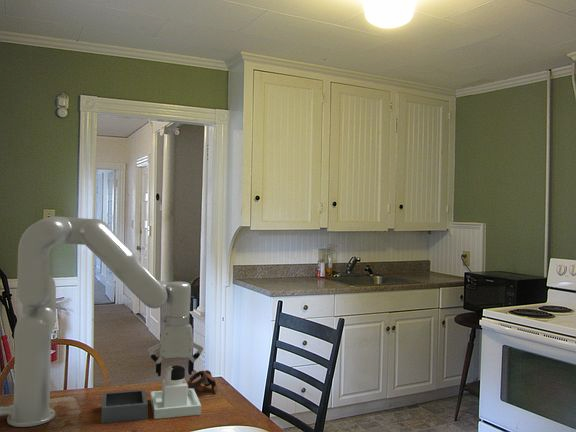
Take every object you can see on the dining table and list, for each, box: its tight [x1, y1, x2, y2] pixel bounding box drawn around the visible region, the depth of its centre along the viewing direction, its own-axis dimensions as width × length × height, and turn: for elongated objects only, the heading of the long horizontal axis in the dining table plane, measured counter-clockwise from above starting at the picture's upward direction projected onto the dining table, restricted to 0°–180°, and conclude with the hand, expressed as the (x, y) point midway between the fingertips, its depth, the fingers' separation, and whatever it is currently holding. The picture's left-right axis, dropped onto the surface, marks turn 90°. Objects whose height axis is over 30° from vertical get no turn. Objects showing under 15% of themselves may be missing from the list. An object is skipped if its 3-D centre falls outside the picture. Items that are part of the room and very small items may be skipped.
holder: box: [100, 389, 149, 424], centre depth 157 cm, size 13×13×4 cm
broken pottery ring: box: [186, 369, 218, 395], centre depth 179 cm, size 12×10×8 cm
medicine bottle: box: [161, 365, 189, 408], centre depth 163 cm, size 7×7×12 cm
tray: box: [150, 388, 202, 420], centre depth 163 cm, size 14×16×3 cm
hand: (174, 374), depth 163 cm, fingers open, 9 cm apart
